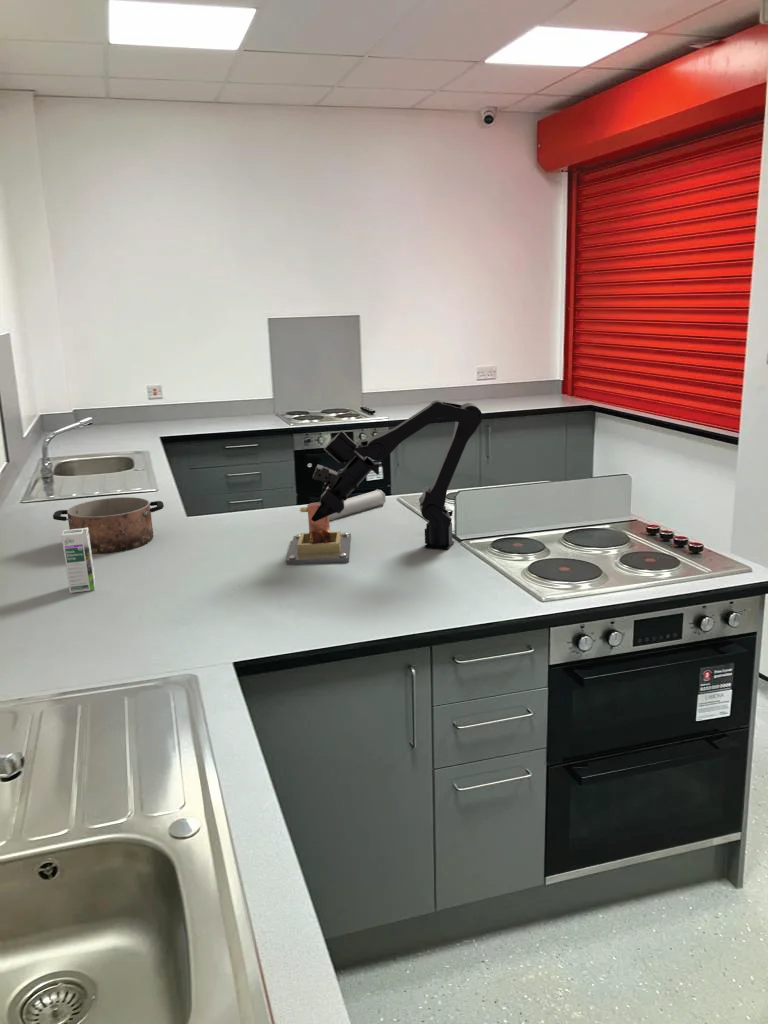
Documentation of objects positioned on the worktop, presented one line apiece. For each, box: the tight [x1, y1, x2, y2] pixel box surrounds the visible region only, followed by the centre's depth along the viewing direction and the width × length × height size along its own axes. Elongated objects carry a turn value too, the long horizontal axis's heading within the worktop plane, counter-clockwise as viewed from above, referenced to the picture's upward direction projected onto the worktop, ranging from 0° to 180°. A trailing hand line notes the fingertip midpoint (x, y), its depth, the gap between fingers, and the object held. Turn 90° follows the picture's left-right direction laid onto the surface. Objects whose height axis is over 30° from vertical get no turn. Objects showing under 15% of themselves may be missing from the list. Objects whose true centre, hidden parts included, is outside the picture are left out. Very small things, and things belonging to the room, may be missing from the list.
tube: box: [329, 489, 386, 522], centre depth 257 cm, size 5×5×25 cm
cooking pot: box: [52, 496, 165, 555], centre depth 234 cm, size 30×22×11 cm
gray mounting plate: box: [285, 531, 352, 566], centre depth 220 cm, size 16×22×4 cm
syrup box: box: [61, 527, 96, 594], centre depth 196 cm, size 6×6×14 cm
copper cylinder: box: [299, 501, 331, 543], centre depth 218 cm, size 8×6×10 cm
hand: (313, 517), depth 218 cm, fingers closed on copper cylinder, 5 cm apart
